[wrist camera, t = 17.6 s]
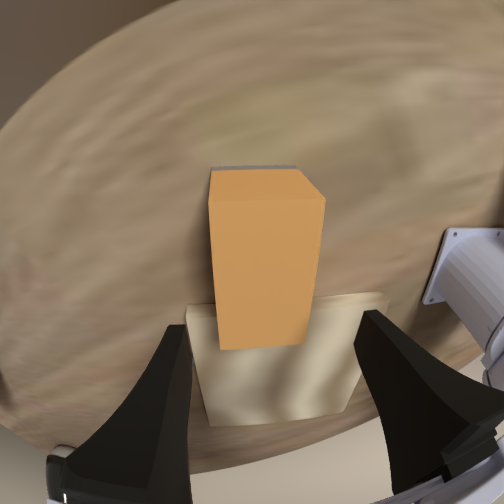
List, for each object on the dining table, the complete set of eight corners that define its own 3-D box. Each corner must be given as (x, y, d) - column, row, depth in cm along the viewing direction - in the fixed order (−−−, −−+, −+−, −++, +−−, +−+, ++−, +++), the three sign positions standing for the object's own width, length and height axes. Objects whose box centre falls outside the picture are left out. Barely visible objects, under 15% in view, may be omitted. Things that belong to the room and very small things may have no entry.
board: (382, 290, 24) (389, 301, 22) (339, 402, 33) (342, 411, 31) (187, 304, 22) (185, 318, 21) (209, 416, 31) (210, 426, 30)
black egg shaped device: (88, 446, 37) (78, 519, 24) (105, 464, 42) (99, 527, 29) (42, 433, 36) (27, 501, 23) (62, 454, 41) (53, 513, 28)
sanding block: (294, 165, 18) (325, 199, 13) (286, 284, 22) (304, 343, 17) (212, 166, 17) (208, 202, 12) (218, 288, 22) (220, 350, 17)
